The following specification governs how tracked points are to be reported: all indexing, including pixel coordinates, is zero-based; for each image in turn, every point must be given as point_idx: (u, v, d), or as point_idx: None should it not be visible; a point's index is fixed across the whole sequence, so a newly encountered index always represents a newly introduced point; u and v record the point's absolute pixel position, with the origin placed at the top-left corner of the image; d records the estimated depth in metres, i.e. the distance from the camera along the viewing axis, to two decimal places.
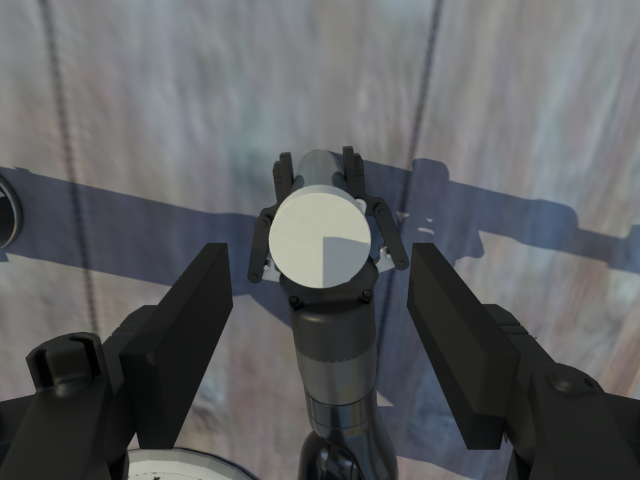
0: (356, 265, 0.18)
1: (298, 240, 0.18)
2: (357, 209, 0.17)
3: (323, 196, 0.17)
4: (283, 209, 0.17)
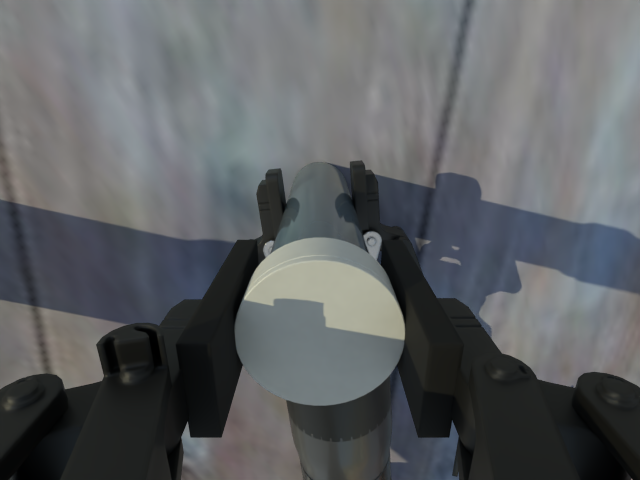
0: (380, 373, 0.11)
1: (284, 335, 0.10)
2: (384, 287, 0.10)
3: (325, 266, 0.10)
4: (256, 287, 0.10)
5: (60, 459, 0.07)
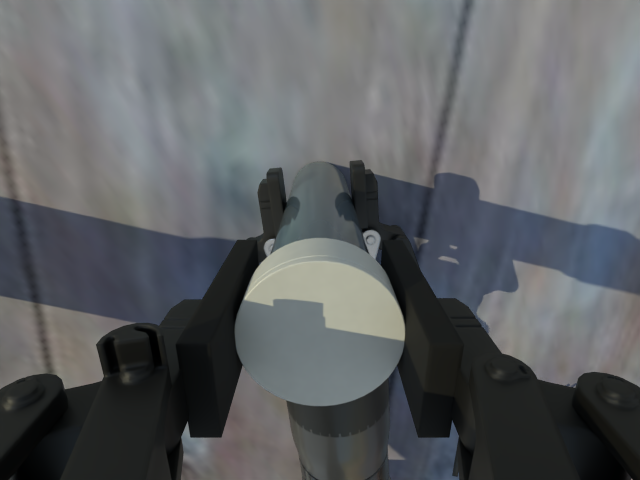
0: (345, 275, 0.10)
1: (324, 368, 0.11)
2: (244, 301, 0.10)
3: (242, 351, 0.11)
4: (280, 397, 0.11)
5: (60, 459, 0.07)
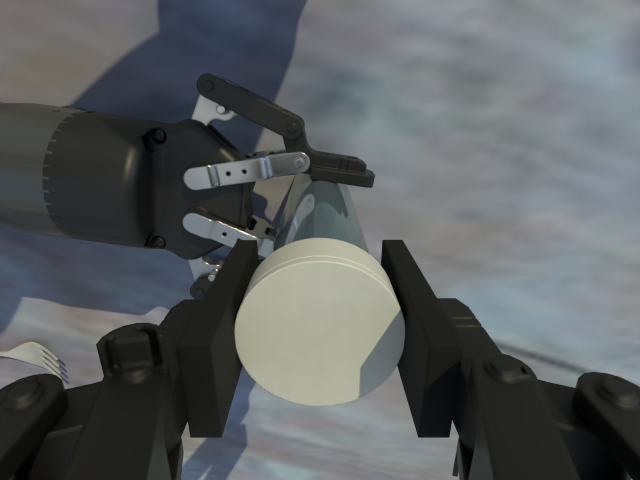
0: (345, 275, 0.10)
1: (324, 368, 0.11)
2: (245, 300, 0.10)
3: (242, 351, 0.11)
4: (280, 397, 0.11)
5: (60, 459, 0.07)
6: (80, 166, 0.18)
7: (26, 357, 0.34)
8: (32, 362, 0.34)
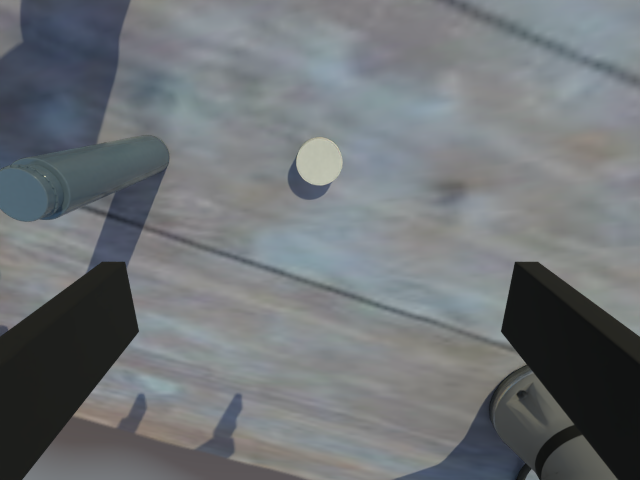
0: (325, 143, 0.38)
1: (320, 172, 0.39)
2: (299, 150, 0.38)
3: (298, 166, 0.39)
4: (308, 182, 0.40)
5: None
6: None
7: None
8: None
